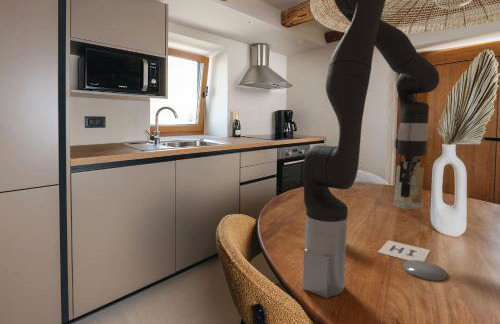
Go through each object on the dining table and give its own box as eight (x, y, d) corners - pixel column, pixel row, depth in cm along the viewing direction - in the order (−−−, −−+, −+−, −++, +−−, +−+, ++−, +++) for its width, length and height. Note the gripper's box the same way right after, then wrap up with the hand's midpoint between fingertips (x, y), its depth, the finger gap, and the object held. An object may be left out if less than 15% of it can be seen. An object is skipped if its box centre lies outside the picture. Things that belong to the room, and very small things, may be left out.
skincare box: (403, 209, 85) (407, 167, 83) (392, 205, 89) (395, 165, 88) (421, 208, 87) (425, 167, 85) (410, 204, 91) (413, 165, 89)
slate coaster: (444, 285, 71) (444, 283, 71) (398, 272, 77) (398, 269, 77) (449, 269, 78) (449, 267, 78) (407, 258, 85) (407, 256, 85)
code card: (422, 264, 81) (422, 264, 81) (377, 252, 89) (377, 251, 89) (430, 250, 90) (430, 250, 90) (388, 240, 98) (388, 240, 98)
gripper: (422, 140, 78) (417, 201, 80) (431, 138, 89) (427, 192, 91) (391, 139, 82) (387, 196, 84) (404, 138, 93) (400, 189, 95)
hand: (408, 194), depth 87 cm, fingers closed on skincare box, 7 cm apart
